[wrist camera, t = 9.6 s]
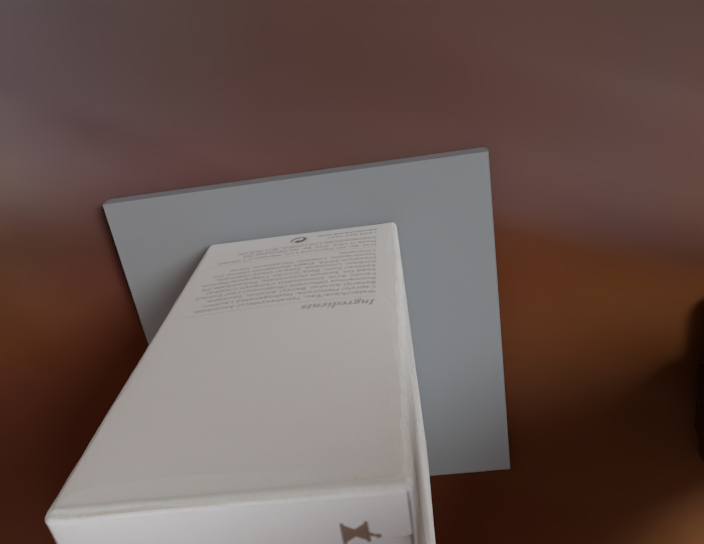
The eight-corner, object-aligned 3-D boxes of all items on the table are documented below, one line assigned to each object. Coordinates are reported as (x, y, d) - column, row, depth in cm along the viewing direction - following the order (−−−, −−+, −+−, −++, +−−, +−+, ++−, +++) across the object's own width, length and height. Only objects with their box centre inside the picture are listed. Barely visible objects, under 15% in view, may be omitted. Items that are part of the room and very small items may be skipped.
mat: (485, 146, 18) (488, 151, 17) (507, 458, 22) (510, 468, 22) (109, 199, 19) (102, 204, 19) (201, 485, 23) (197, 495, 23)
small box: (209, 239, 19) (26, 509, 9) (400, 215, 18) (415, 478, 9) (264, 455, 22) (171, 820, 13) (428, 441, 21) (461, 813, 12)
